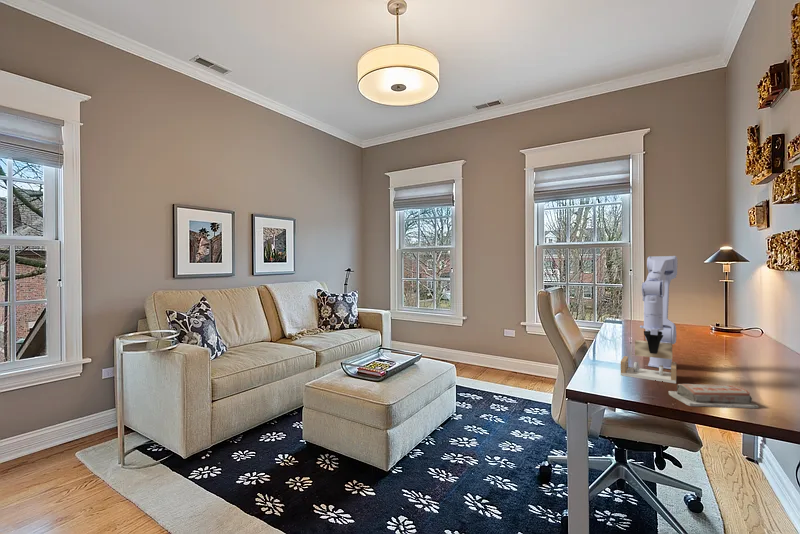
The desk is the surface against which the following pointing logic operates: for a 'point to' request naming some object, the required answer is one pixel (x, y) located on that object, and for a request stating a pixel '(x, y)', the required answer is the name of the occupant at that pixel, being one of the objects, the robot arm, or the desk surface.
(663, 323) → the robot arm
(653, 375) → the wooden peg tray
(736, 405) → the packaged product
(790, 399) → the desk surface
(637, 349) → the shelf board
